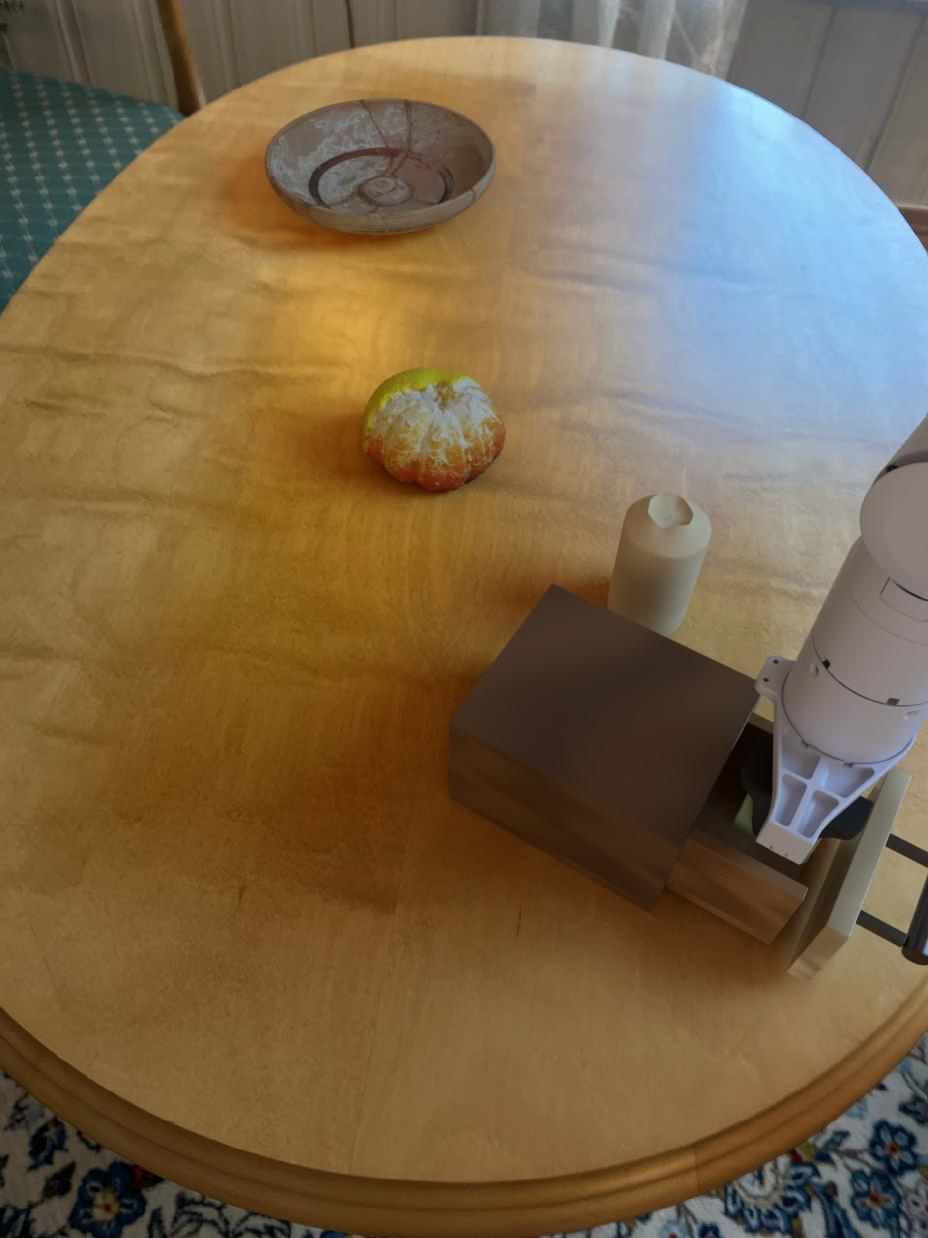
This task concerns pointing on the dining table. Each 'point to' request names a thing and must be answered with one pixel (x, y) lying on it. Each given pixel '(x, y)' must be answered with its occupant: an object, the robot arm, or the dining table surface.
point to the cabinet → (597, 742)
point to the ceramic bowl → (380, 165)
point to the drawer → (794, 871)
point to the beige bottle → (658, 561)
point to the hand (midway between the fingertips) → (789, 803)
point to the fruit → (432, 428)
